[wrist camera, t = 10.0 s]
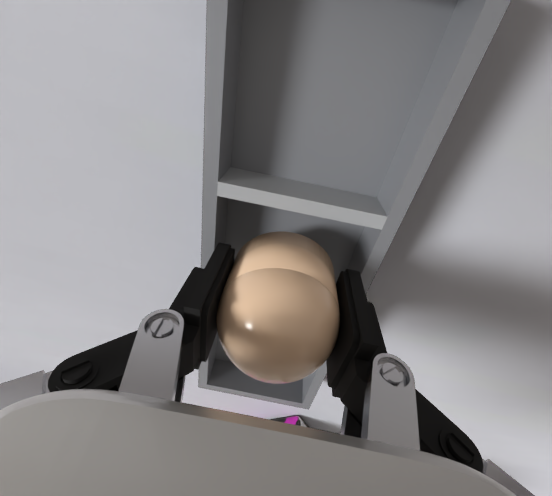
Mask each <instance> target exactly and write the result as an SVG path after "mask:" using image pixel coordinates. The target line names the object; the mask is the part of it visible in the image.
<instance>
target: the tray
mask: <svg viewBox="0 0 552 496" xmlns="http://www.w3.org/2000/svg"><path fill="white" fill-rule="evenodd" d="M510 2H511V0H207V11H206V57H205V103H204V149H203V195H202V241H201V268H203V269H204V268H205V266H206V265H207V263H208V261H209V259H210V257H211V255H212V253H213V252H214V250H215V248H216V246H217V244H218V243H224V244H229V245H231V248H233V249H235V255H234V261H235V258H236V256H237V254H238V252H239V250H240V249H241V248H242V247H243V246H244V245H245V244H246V243H247V242H248V241H250V240H251V239H253V238H255V237H257V236H259V235H262V234H265V233H270V232H278V231H281V232H292V233H297V234H300V235H303V236H306V237H308V238H310V239H312V240H313V241H315V242H316V243H318V244H319V245H320V246H321V247H322V248H323V249H324V250H325V251H326V252H327V254H328V255H329V257H330V259H331V261H332V264H333V268H334V275H335V282H337V279H338V277H339V274H340V272H341V271H345V270H346V269H351V270H356V271H359V272H360V275H361V279H362V283H363V286H364V290H365V294H366V293H367V291H368V289H369V287H370V285H371V283H372V281H373V279H374V277H375V274H376V272H377V270H378V268H379V266H380V264H381V262H382V260H383V258H384V256H385V254H386V252H387V250H388V248H389V246H390V244H391V242H392V240H393V238H394V236H395V234H396V232H397V230H398V228H399V226H400V224H401V222H402V220H403V218H404V216H405V214H406V212H407V210H408V208H409V206H410V204H411V202H412V200H413V198H414V196H415V194H416V192H417V190H418V188H419V186H420V184H421V182H422V180H423V178H424V175H425V173H426V171H427V169H428V167H429V165H430V163H431V161H432V159H433V157H434V155H435V153H436V151H437V149H438V147H439V145H440V143H441V141H442V139H443V137H444V135H445V133H446V131H447V129H448V127H449V125H450V123H451V121H452V119H453V117H454V115H455V113H456V111H457V109H458V107H459V105H460V103H461V101H462V99H463V97H464V95H465V93H466V91H467V89H468V87H469V85H470V83H471V81H472V79H473V76H474V74H475V72H476V70H477V68H478V66H479V64H480V62H481V60H482V58H483V56H484V54H485V52H486V50H487V48H488V46H489V44H490V42H491V40H492V38H493V36H494V34H495V32H496V30H497V28H498V26H499V24H500V22H501V20H502V18H503V16H504V14H505V12H506V10H507V8H508V6H509V4H510ZM326 373H327V364H326V361H325V362H324V364H323V365H322V366H321V367H319V368H318V369H317V370H316V371H315V372H314V373H312V374H310V375H309V376H307V377H305V378H303V379H301V380H298V381H295V382H290V383H285V384H272V383H266V382H262V381H259V380H256V379H254V378H252V377H250V376H248V375H246V374H245V373H243V372H242V371H241V370H239V369H238V368H237V367H236V366H235V365H234V364H233V363H232V362H231V360H230V359H229V358H228V356H227V355H226V353H225V351H224V349H223V347H222V345H221V342H220V340H219V336H218V331H217V334H216V337H215V339H214V342H213V345H212V348H211V351H210V353H209V356H208V359H207V361H206V362H203V361H202V362H201V364H200V367H199V380H198V387H199V388H204V389H209V390H214V391H219V392H224V393H229V394H234V395H239V396H244V397H249V398H254V399H259V400H264V401H269V402H274V403H279V404H284V405H289V406H294V407H299V408H304V409H309V408H310V406H311V404H312V402H313V400H314V398H315V396H316V394H317V392H318V390H319V388H320V386H321V384H322V382H323V380H324V378H325V375H326Z"/></svg>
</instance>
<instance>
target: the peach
mask: <svg viewBox="0 0 552 496" xmlns="http://www.w3.org/2000/svg"><path fill="white" fill-rule="evenodd" d="M216 318H217V331H218V336H219V340H220V342H221V345H222V347H223V349H224V351H225V353H226V355H227V356H228V358H229V359H230V360H231V362H232V363H233V364H234V365H235V366H236V367H237V368H238V369H239V370H241V371H242V372H243V373H245V374H246V375H248V376H250V377H252V378H254V379H256V380H259V381H262V382H266V383H272V384H285V383H290V382H295V381H298V380H301V379H303V378H305V377H307V376H309V375H310V374H312V373H314V372H315V371H316V370H317V369H318V368H319V367H321V366H322V365H323V364H324V362H325V361H326V360H327V359H328V357H329V356H330V354H331V353H332V351H333V349H334V347H335V344H336V341H337V338H338V335H339V328H340V310H339V303H338V296H337V289H336V282H335V275H334V268H333V264H332V261H331V259H330V257H329V255H328V254H327V252H326V251H325V250H324V249H323V248H322V247H321V246H320V245H319V244H318V243H316V242H315V241H313V240H312V239H310V238H308V237H306V236H303V235H300V234H297V233H292V232H281V231H278V232H270V233H265V234H262V235H259V236H257V237H255V238H253V239H251V240H250V241H248V242H247V243H246V244H245V245H244V246H243V247H242V248H241V249H240V250H239V252H238V254H237V256H236V258H235V261H234V264H233V266H232V269H231V271H230V274H229V276H228V279H227V282H226V284H225V287H224V289H223V292H222V294H221V297H220V301H219V304H218V309H217V316H216Z"/></svg>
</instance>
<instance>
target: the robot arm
mask: <svg viewBox="0 0 552 496" xmlns="http://www.w3.org/2000/svg"><path fill="white" fill-rule="evenodd" d="M234 255H235V249H233V248H231V245H229V244H224V243H218V244H217V246H216V248H215V250H214V252H213V253H212V255H211V257H210V259H209V261H208V263H207V265H206V266H205V268H204V269H203V268H198V267H195V268H194V269H193V270H192V272H191V273H190V275H189V277H188V278H187V280H186V282H185V283H184V285H183V287H182V288H181V290H180V292H179V293H178V295H177V297H176V298H175V300H174V302H173V303H172V305H171V306H170V308H169V309H161V310H157V311H154V312H152V313H150V314H148V315H147V316H146V317H145V318H144V319H143V320H142V321H141V323H140V325H139V328H138V330H137V331H135V332H132V333H130V334H127V335H125V336H122V337H119V338H117V339H114V340H112V341H109V342H107V343H104V344H102V345H99V346H97V347H94V348H92V349H89V350H87V351H84V352H81V353H79V354H76V355H74V356H72V357H70V358H68V359H66V360H64V361H63V362H62V363H60V364H59V365H58V366H57V367H56V368H55V369H54V370H53V371H50V372H47V373H45V372H44V370H42V371H39V372H36V373H33V374H30V375H27V376H23V377H20V378H17V379H14V380H11V381H8V382H4V383H1V384H0V496H535V495H533V494H532V493H531V492H530V491H528V490H527V489H526V488H524V487H523V486H522V485H521V484H519V483H518V482H517V481H516V480H514V479H513V478H512V477H511V476H509V475H508V474H507V473H506V472H504V471H503V470H502V469H501V468H499V467H498V466H497V465H496V464H494V463H493V462H492V461H491V460H489V459H487V460H486V461H485V460H484V459H482V457H481V455H480V453H479V451H478V449H477V447H476V446H475V444H474V443H473V442H472V440H471V439H470V438H469V437H468V436H467V435H466V434H465V433H464V432H463V431H462V430H460V429H459V428H458V427H457V426H456V425H455V424H454V423H453V422H452V421H450V420H449V419H448V418H447V417H446V416H445V415H444V414H443V413H442V412H441V411H439V410H438V409H437V408H436V407H435V406H434V405H433V404H432V403H431V402H429V401H428V400H427V399H426V398H425V397H424V396H423V395H422V394H421V393H419V392H418V391H417V390H416V389H415V380H414V376H413V373H412V371H411V370H410V368H409V367H408V366H407V364H406V363H405V362H403V361H402V360H401V359H400V358H398V357H396V356H394V355H392V354H388V353H387V351H386V347H385V344H384V340H383V337H382V333H381V330H380V326H379V323H378V319H377V316H376V312H375V308H374V306H373V304H372V303H370V302H367V298H366V294H365V290H364V286H363V283H362V279H361V275H360V272H359V271H356V270H351V269H346V270H345V271H341V272H340V274H339V277H338V279H337V282H336V289H337V296H338V303H339V310H340V328H339V335H338V338H337V341H336V344H335V347H334V349H333V351H332V353H331V354H330V356H329V357H328V359H327V360H326V364H327V381H328V386H329V387H332V395H333V396H334V397H339V398H340V399H341V401H342V403H343V404H344V405H345V407H344V413H343V419H342V426H341V432H340V434H338V433H333V432H328V431H323V430H318V429H313V428H308V427H303V426H298V425H293V424H288V423H283V422H278V421H273V420H268V419H263V418H258V417H253V416H248V415H243V414H238V413H233V412H228V411H223V410H217V409H212V408H207V407H202V406H197V405H192V404H186V403H182V398H183V390H184V382H185V375H187V374H189V373H190V372H192V371H193V370H194V369H199V367H200V364H201V362H202V361H203V362H206V361H207V359H208V356H209V353H210V351H211V348H212V345H213V342H214V339H215V337H216V334H217V318H216V316H217V309H218V304H219V301H220V297H221V294H222V292H223V289H224V287H225V284H226V282H227V279H228V276H229V274H230V271H231V269H232V266H233V264H234Z"/></svg>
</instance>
